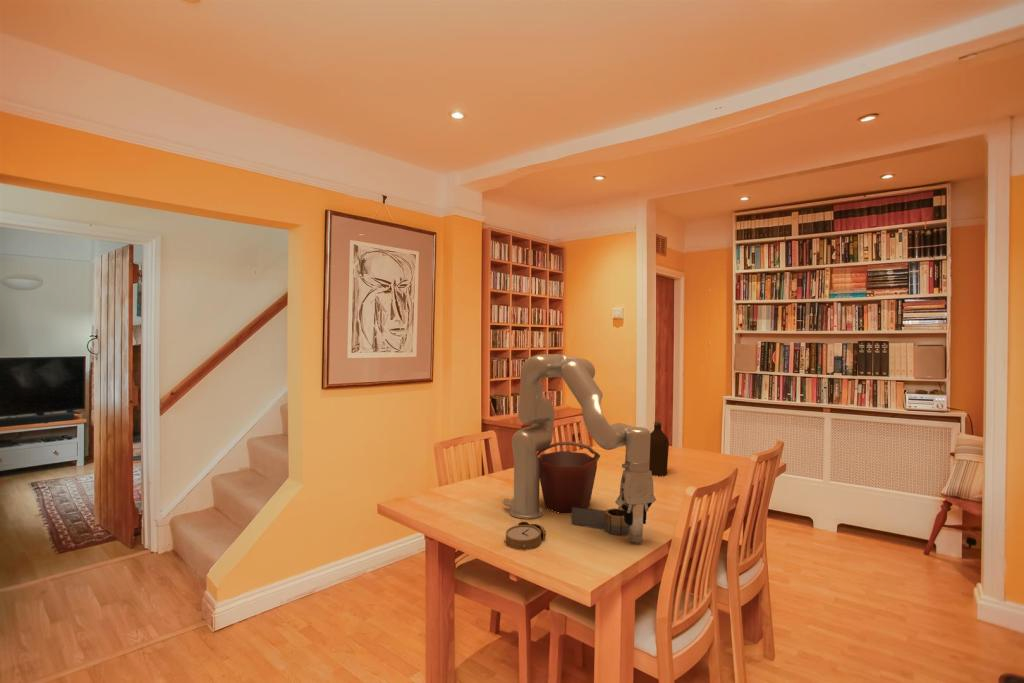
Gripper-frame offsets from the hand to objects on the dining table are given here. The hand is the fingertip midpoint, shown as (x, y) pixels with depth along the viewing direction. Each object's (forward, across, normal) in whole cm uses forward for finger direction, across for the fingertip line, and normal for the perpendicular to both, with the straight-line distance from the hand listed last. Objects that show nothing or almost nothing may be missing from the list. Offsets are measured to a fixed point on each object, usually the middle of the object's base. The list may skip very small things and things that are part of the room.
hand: (635, 522), depth 162 cm
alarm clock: (+7, -33, +11) cm, 35 cm away
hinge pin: (+5, 0, 0) cm, 5 cm away
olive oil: (+7, +56, +69) cm, 89 cm away
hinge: (+7, -1, +19) cm, 20 cm away
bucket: (+7, -6, +37) cm, 38 cm away
